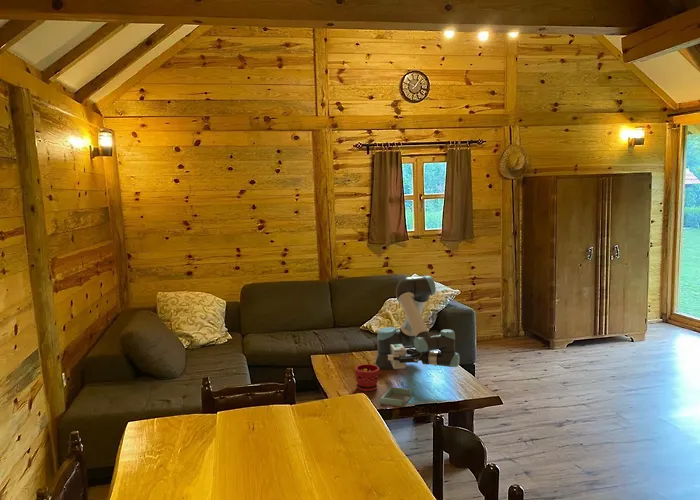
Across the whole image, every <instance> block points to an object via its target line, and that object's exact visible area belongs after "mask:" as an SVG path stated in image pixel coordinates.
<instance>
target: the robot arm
mask: <svg viewBox="0 0 700 500" xmlns="http://www.w3.org/2000/svg"><path fill="white" fill-rule="evenodd" d="M436 290H437V289H436V283H435V281H434V278H433V277H432V276H430V275H420V276H419V275H418V276H407V277H406V276H405V277H404V278H402V279H401V280H399V282H398V283H397V286H396V287H395V297H396V300H397V302H398V304H401V307H402V309H403V311H404V313H405V317H404V318H405V319H404V322H403V323H401V325H400V327H399V328H396V327H393V326H387V327H382V328H380V329H379V330H378V331H377V337H376V338H377V339H376V340H377V356H376V359H375V362H374V363H375V364H374V365H375V366H377V367H379V370H395V369H394V368H393V366H392V364H391V360H393V361H399V363H406V364H407V363H410V364H411V363H417V364H418V363H419V361H420V362H421V363H422V364H423V365H426V366H427V365H430V366H434V367H436V366H441V367H449V368H457V367H459V365H460V362H461V361H460V360H461V359H460V358H461V357H460V353H458V352H456V334H455V331H454V330H453V329H442V330H440V333H439V334H435V335H431V334H430V332H429V330H428V328H427V327H428V326H427V325H426V323H425V321H424V319H423V317H422V314H423V310H424V306H425V304H426V302H428V301H429V299H430V296H433V295H434V296H435V294H436ZM393 344H402V345H403V347H404V348H405V356H400V355H399V356H396V355H391V349H390V345H393ZM411 347H414V348H411Z"/></svg>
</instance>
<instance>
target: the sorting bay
mask: <svg viewBox="0 0 700 500" xmlns="http://www.w3.org/2000/svg"><path fill="white" fill-rule="evenodd" d="M411 393H412V391H411V389H410V388H401V387H389V388H388V389H387V391H386V392H385V393H384V394H383V395H381V397H380V405H383V406H384V405H385V406H393V407H399V408H400V407H401V408H404V407H405V406H406V405H407V404H408V402H409V401H410V399H411V398H412V397H413V394H411Z"/></svg>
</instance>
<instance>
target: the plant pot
mask: <svg viewBox="0 0 700 500" xmlns="http://www.w3.org/2000/svg"><path fill="white" fill-rule="evenodd" d="M365 369H366V371H364V370H365ZM354 371H355V372H354V373H355V374H354V375H355V380H356V388H357V389H358V390H359V391H362V392H372V391H375V390H377V388H378V381H379V378H380V377H379V375H380V368H379V367H377V366H375V364H370V363H369V364H367V363H364V364H359V365H357V366H355V370H354Z"/></svg>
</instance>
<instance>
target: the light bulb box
mask: <svg viewBox="0 0 700 500" xmlns="http://www.w3.org/2000/svg"><path fill="white" fill-rule="evenodd" d="M390 349H391V355H396V356H399V355H400V356H406V354H405V349H406V347H403V345H402V344H393V345H390ZM391 364H392V366H393V368H394V369H393V370H396V369H406V368H407V367H406V365H407V363H399V361H393V360H391Z"/></svg>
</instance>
